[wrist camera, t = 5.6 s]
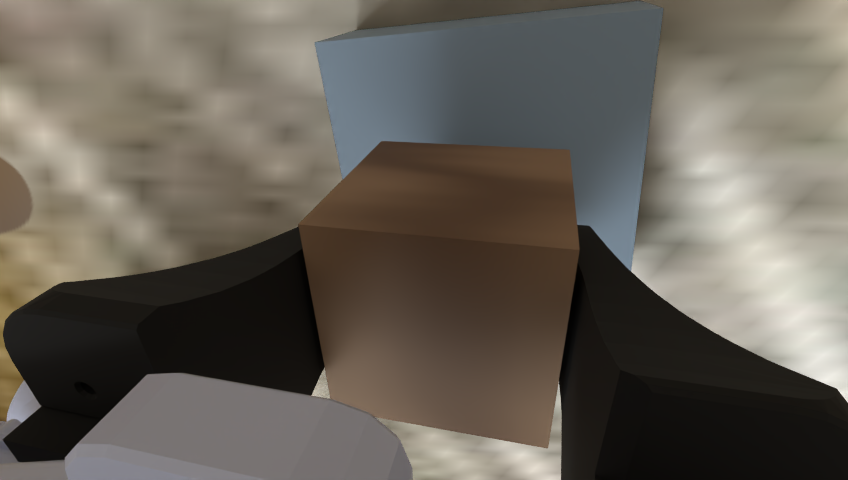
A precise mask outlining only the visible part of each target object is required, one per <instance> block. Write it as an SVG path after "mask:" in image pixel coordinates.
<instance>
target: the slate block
mask: <svg viewBox="0 0 848 480" xmlns="http://www.w3.org/2000/svg"><path fill="white" fill-rule="evenodd" d="M662 16H663V8H662V7H659V6H656V5H652V4H649V3H646V2H643V1H633V2H623V3H613V4H604V5H594V6H585V7H575V8H565V9H556V10H546V11H536V12H527V13H517V14H508V15H498V16H488V17H479V18H469V19H460V20H450V21H440V22H431V23H421V24H411V25H402V26H392V27H383V28H373V29H363V30H355V31H352V32H348V33H345V34H342V35H338V36H335V37H332V38H328V39H325V40H322V41H318V42H315V47H316V52H317V57H318V62H319V66H320V71H321V76H322V81H323V86H324V91H325V96H326V101H327V105H328V110H329V115H330V120H331V125H332V130H333V135H334V140H335V145H336V149H337V154H338V159H339V164H340V169H341V174H342V179H344V178H345V177H346V176H347V175H348V174H349V173H350V172H351V171H352V170H353V169H354V168H355V167H356V166H357V165H358V164H359V163H360V162H361V161H362V160H363V159H364V158H365V157H366V156H367V155H368V154H369V153H370V152H371V151H372V150H373V149H374V148H375V147H376V146H377V145H378V144H379V143H380V142H381V141H394V142H415V143H437V144H458V145H480V146H501V147H523V148H544V149H566V150H570V158H571V168H572V178H573V188H574V198H575V208H576V218H577V225H587V226H590V227H591V228H592V229H593V230H594V231H595V233H596V234H597V235H598V236H599V237H600V239H601V240H602V241H603V242H604V243H605V244H606V246H607V247H608V248H609V249H610V250H611V251H612V252H613V254H614V255H615V256H616V257H617V258H618V259H619V260H620V261H621V262H622V263H623V264H624V265H625V266H626V267H627V268H628V269H629V270H630V271H631V267H632V259H633V251H634V243H635V235H636V227H637V219H638V210H639V202H640V194H641V186H642V178H643V170H644V162H645V154H646V146H647V137H648V129H649V121H650V113H651V105H652V97H653V89H654V81H655V73H656V64H657V56H658V48H659V40H660V32H661V24H662Z"/></svg>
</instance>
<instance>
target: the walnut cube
mask: <svg viewBox="0 0 848 480" xmlns="http://www.w3.org/2000/svg"><path fill="white" fill-rule="evenodd" d="M298 226H299V232H300V237H301V242H302V248H303V253H304V258H305V264H306V269H307V275H308V280H309V285H310V291H311V296H312V301H313V307H314V312H315V318H316V323H317V328H318V334H319V339H320V345H321V350H322V355H323V361H324V366H325V371H326V377H327V382H328V388H329V393H330V398H331V399H333V400H336V401H339V402H342V403H344V404H347V405H350V406H352V407H355V408H358V409H361V410H363V411H366V412H369V413H370V414H371V415H372V416H374V417H378V418H383V419H389V420H394V421H400V422H405V423H411V424H416V425H422V426H427V427H433V428H438V429H444V430H449V431H455V432H460V433H466V434H471V435H477V436H482V437H488V438H493V439H499V440H504V441H510V442H515V443H521V444H526V445H532V446H537V447H543V448H548V444H549V438H550V432H551V426H552V419H553V413H554V407H555V401H556V395H557V388H558V382H559V376H560V370H561V363H562V357H563V351H564V345H565V338H566V332H567V326H568V320H569V313H570V307H571V301H572V295H573V288H574V282H575V276H576V270H577V264H578V257H579V251H580V248H579V238H578V228H577V218H576V208H575V198H574V188H573V178H572V168H571V158H570V150H566V149H544V148H523V147H501V146H480V145H458V144H437V143H415V142H394V141H381V142H380V143H379V144H378V145H377V146H376V147H375V148H374V149H373V150H372V151H371V152H370V153H369V154H368V155H367V156H366V157H365V158H364V159H363V160H362V161H361V162H360V163H359V164H358V165H357V166H356V167H355V168H354V169H353V170H352V171H351V172H350V173H349V174H348V175H347V176H346V177H345V178H344V179H343V180H342V181H341V182H340V183H339V184H338V185H337V186H336V187H335V188H334V189H333V190H332V191H331V192H330V193H329V194H328V195H327V196H326V197H325V198H324V199H323V200H322V201H321V202H320V203H319V204H318V205H317V206H316V207H315V208H314V209H313V210H312V211H311V212H310V213H309V214H308V215H307V216H306V217H305V218H304V219H303V220H302V221H301V222H300V223H299V224H298Z"/></svg>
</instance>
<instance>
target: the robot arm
mask: <svg viewBox="0 0 848 480" xmlns="http://www.w3.org/2000/svg"><path fill="white" fill-rule="evenodd" d="M577 228H578V238H579V248H580V251H579V257H578V264H577V270H576V276H575V282H574V288H573V295H572V301H571V307H570V313H569V320H568V326H567V332H566V338H565V345H564V351H563V357H562V363H561V370H560V376H559V385H560V395H561V410H562V456H561V480H848V403H847V401H846V400H845V399H844V397H843V396H842V395H841V394H840V392H839V391H838V390H837V389H836V388H834V387H831V386H829V385H826V384H824V383H821V382H819V381H816V380H814V379H812V378H809V377H807V376H804V375H802V374H799V373H797V372H795V371H792V370H790V369H787V368H785V367H782V366H780V365H778V364H775V363H773V362H771V361H769V360H766V359H764V358H762V357H760V356H758V355H756V354H754V353H752V352H750V351H748V350H746V349H744V348H742V347H740V346H738V345H736V344H734V343H732V342H730V341H729V340H727V339H725V338H723V337H721V336H719V335H718V334H716V333H714V332H712V331H711V330H709V329H707V328H706V327H704V326H702V325H701V324H699V323H697V322H696V321H694V320H693V319H691V318H689V317H688V316H686V315H685V314H683V313H682V312H680V311H679V310H677V309H676V308H675V307H673V306H672V305H671V304H669V303H668V302H667V301H665V300H664V299H663V298H661V297H660V296H658V295H657V294H656V293H655V292H653V291H652V290H651V289H650V288H649V287H647V286H646V285H645V284H644V283H643V282H642V281H641V280H640V279H639V278H637V277H636V276H635V275H634V274H633V273H632V272H631V271H630V270H629V269H628V268H627V267H626V266H625V265H624V264H623V263H622V262H621V261H620V260H619V259H618V258H617V257H616V256H615V255H614V254H613V252H612V251H611V250H610V249H609V248H608V247H607V246H606V244H605V243H604V242H603V241H602V240H601V239H600V237H599V236H598V235H597V234H596V233H595V231H594V230H593V229H592V228H591V227H590V226H587V225H577ZM3 337H4V342H5V347H6V349H7V351H8V353H9V355H10V357H11V359H12V361H13V363H14V364H15V366H16V368H17V369H18V371H19V372H20V374H21V376H22V377H23V379H24V381H23V383H22V384H21V386H20V387H19V389H18V390H17V392H16V394H15V396H14V398H13V400H12V402H11V404H10V407H9V410H8V414H7V422H4V421H2V422H0V480H413V473H412V466H411V464H410V462H409V460H408V457H407V455H406V453H405V450H404V448H403V446H402V444H401V441H400V440H399V438H398V437H397V436H396V435H395V434H394V433H393V432H392V431H391V430H389V429H388V428H387V427H386V426H385V425H383V424H382V423H381V422H380V421H379V420H377V419H376V418H375V417H374V416H372V415H371V414H370V413H369V412H366V411H363V410H361V409H358V408H355V407H352V406H350V405H347V404H344V403H342V402H339V401H336V400H333V399H327V398H321V397H316V396H311V395H312V393H313V390H314V388H315V386H316V384H317V381H318V379H319V377H320V375H321V373H322V371H323V369H324V367H325V366H324V361H323V355H322V350H321V345H320V339H319V334H318V328H317V323H316V318H315V312H314V307H313V301H312V296H311V291H310V285H309V280H308V275H307V269H306V264H305V258H304V253H303V248H302V242H301V237H300V232H299V227H297V228H294V229H292V230H290V231H288V232H285V233H283V234H280V235H278V236H276V237H273V238H271V239H268V240H266V241H264V242H261V243H259V244H256V245H253V246H251V247H248V248H245V249H242V250H239V251H236V252H233V253H230V254H227V255H223V256H220V257H217V258H213V259H209V260H205V261H201V262H197V263H193V264H188V265H184V266H180V267H176V268H171V269H166V270H160V271H155V272H149V273H143V274H137V275H130V276H123V277H115V278H105V279H95V280H85V281H75V282H63V283H60V284H58V285H56V286H54V287H52V288H51V289H49V290H47V291H46V292H44V293H43V294H41V295H39V296H38V297H36V298H35V299H33V300H31V301H30V302H28V303H27V304H25V305H24V306H22V307H20V308H19V309H17V310H16V311H14V312H12V313H11V315H10V316H9V317H8V318H7V319H6V320H5V325H4V331H3Z"/></svg>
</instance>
